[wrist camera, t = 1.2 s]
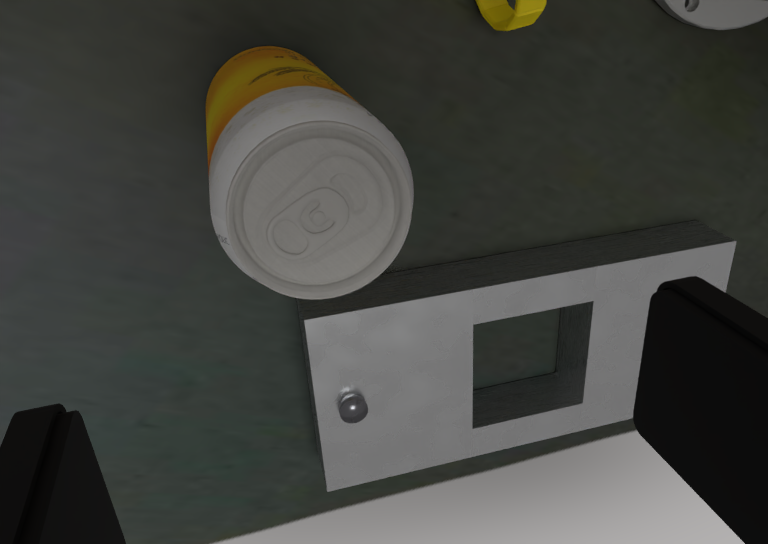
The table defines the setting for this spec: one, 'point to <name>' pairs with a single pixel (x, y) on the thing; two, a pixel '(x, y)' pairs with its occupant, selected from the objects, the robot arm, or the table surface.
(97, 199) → the table surface
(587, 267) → the gray block with hole
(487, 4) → the watch
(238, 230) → the beer can
